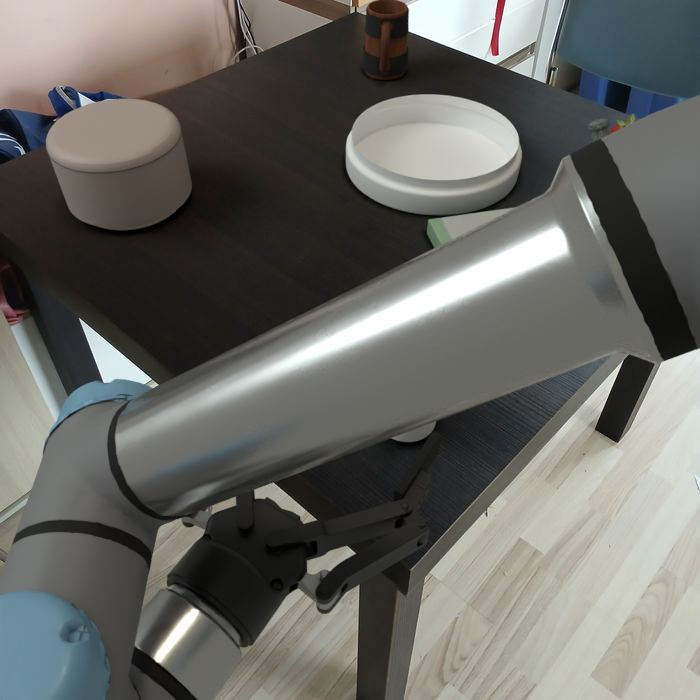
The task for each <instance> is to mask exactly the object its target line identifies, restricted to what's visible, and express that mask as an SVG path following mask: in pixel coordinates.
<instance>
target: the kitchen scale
mask: <svg viewBox="0 0 700 700" xmlns="http://www.w3.org/2000/svg"><path fill="white" fill-rule="evenodd" d="M516 207H517V206H516ZM516 207H515V206H514V207H508V208H507V207H506V208H500V209H493V210H486V211H479V212H470V213H463V214H456V215H449V216H444V217H436V218H429V219H427V228H426V234H427V236H428V239H429V241H430V242H431V244H432V246H433V249H434V248H436V247H438V246H440V245H442V244H444V243H446V242H448V241H450V240H452V239H454V238H456V237H458V236H460V235H462V234H464V233H466V232H468V231H470V230H472V229H474V228H476V227H478V226H480V225H482V224H484V223H486V222H488V221H490V220H492V219H494V218H496V217H498V216H500V215H502V214H504V213H506V212H508V211H510V210H512V209H514V208H516Z"/></svg>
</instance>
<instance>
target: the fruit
mask: <svg viewBox="0 0 700 700" xmlns="http://www.w3.org/2000/svg"><path fill="white" fill-rule="evenodd" d="M635 120H636V115H635V112H633V113H629V114H628V116H627V118H626V120H625V121H623V120H621V119H616V124H615V125H614V126H612V128H611V129H610V130H609V134H611V133H613V132H615V131H617V130H619V129H621V128H623V127H625V126H627V125H630V124H632V123H634V122H636V121H635Z"/></svg>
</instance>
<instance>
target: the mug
mask: <svg viewBox="0 0 700 700" xmlns="http://www.w3.org/2000/svg"><path fill="white" fill-rule="evenodd" d="M365 8H366V9H365V23H364V33H365V39H364V45H363V52H362V70H363V71H364V73H365V75H367V76H368V77H370V78H372V79H375V80H379V81H392V80H397V79H399V78H402V77H403V76H404V75H405V73H406V72H407V70H408V69H409V46H408V34H409V30H410V29H409V28H410V27H409V26H410V25H409V19H410V18H409V17H410V8H409V6H408V4H407V3H405V2H403V1H401V0H373V1H371V2H369V3H368V5H367V6H366V7H365Z"/></svg>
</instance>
